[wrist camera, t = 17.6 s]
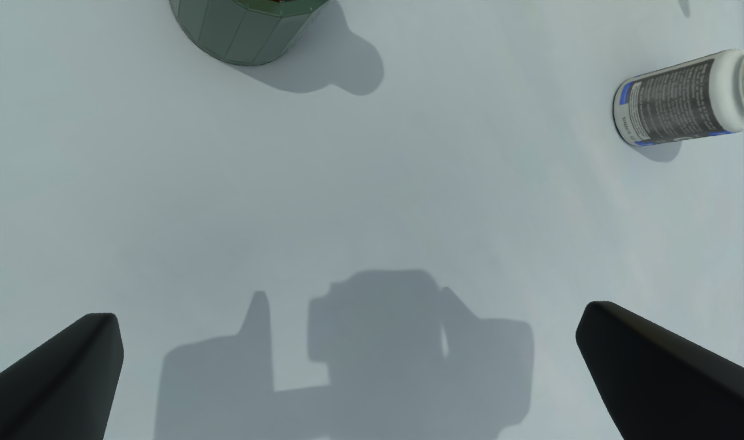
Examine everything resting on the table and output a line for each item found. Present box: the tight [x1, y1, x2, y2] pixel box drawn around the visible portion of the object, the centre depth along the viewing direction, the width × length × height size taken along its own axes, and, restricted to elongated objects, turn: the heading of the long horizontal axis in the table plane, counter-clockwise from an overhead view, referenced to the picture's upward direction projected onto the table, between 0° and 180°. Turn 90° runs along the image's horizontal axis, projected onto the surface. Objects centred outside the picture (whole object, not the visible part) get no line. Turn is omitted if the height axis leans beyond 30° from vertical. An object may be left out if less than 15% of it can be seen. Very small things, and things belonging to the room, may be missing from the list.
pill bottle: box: [614, 49, 744, 146], centre depth 27 cm, size 5×5×8 cm
